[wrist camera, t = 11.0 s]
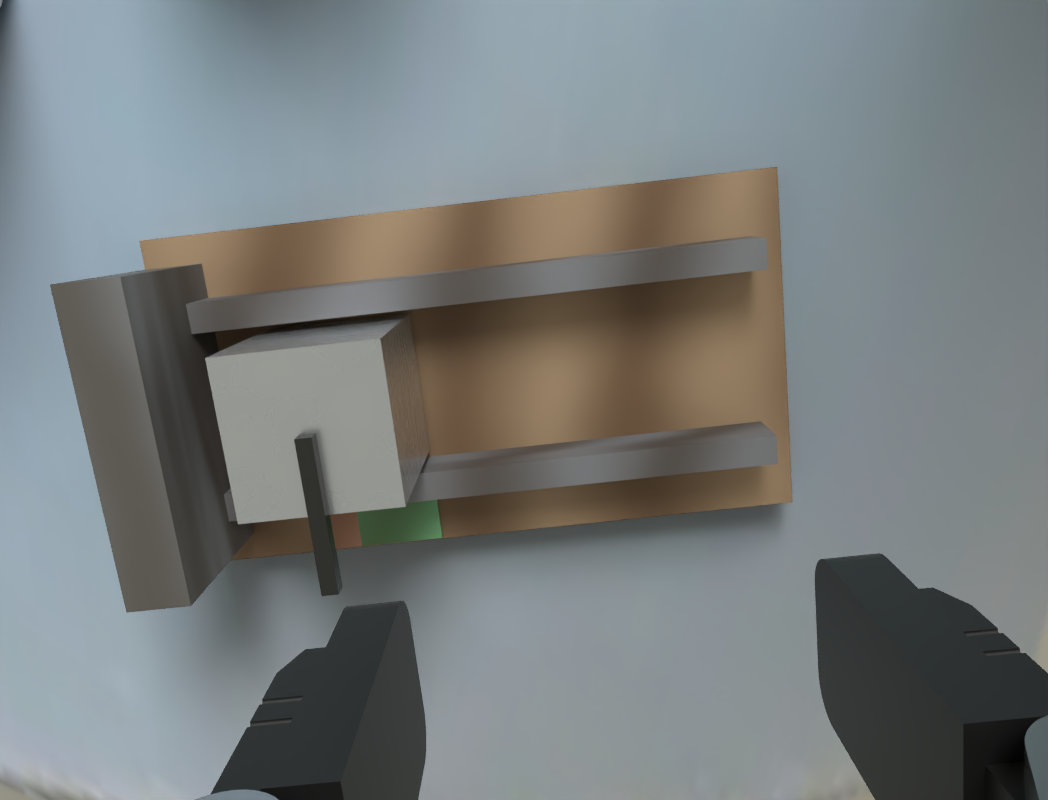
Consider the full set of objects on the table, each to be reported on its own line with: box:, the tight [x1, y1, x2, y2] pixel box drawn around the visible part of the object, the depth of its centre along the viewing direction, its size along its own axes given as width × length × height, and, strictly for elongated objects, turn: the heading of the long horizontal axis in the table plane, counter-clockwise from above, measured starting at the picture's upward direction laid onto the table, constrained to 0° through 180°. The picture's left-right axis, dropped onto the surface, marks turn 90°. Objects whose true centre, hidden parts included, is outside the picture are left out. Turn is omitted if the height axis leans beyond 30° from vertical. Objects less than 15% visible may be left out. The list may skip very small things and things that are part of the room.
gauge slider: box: [205, 313, 429, 596], centre depth 27 cm, size 5×7×6 cm
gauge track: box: [50, 167, 792, 612], centre depth 28 cm, size 22×12×8 cm, turn 96°
